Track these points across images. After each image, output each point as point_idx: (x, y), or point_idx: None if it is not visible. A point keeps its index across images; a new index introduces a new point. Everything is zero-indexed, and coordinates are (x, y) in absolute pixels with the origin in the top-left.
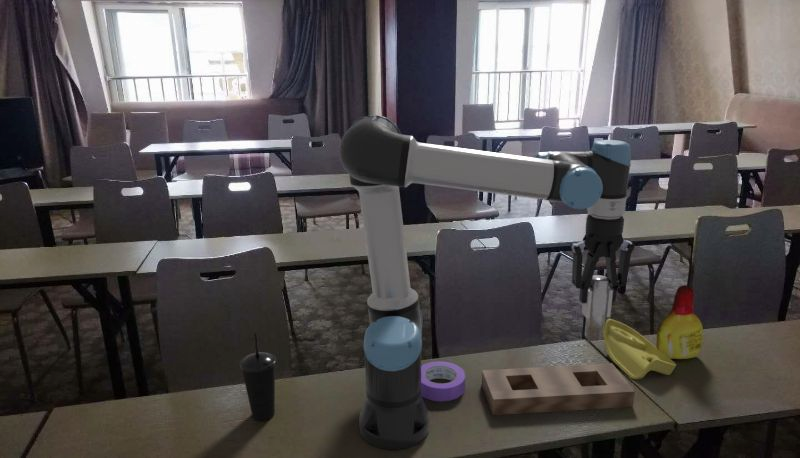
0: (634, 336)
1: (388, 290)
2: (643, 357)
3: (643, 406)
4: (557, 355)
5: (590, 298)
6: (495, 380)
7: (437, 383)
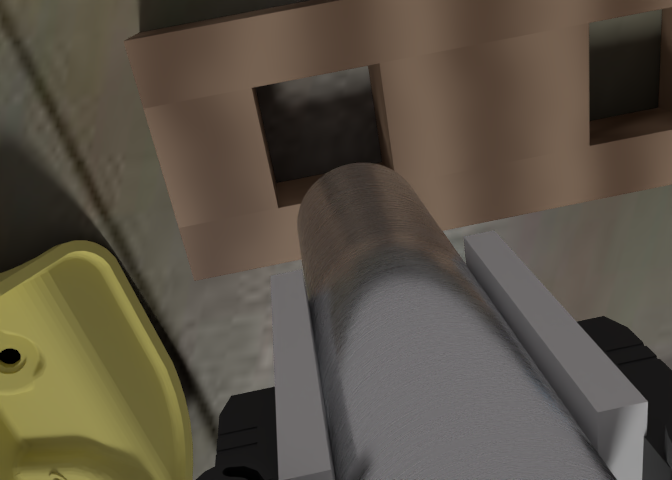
0: None
1: None
2: (36, 372)
3: (91, 41)
4: None
5: (560, 345)
6: None
7: None
